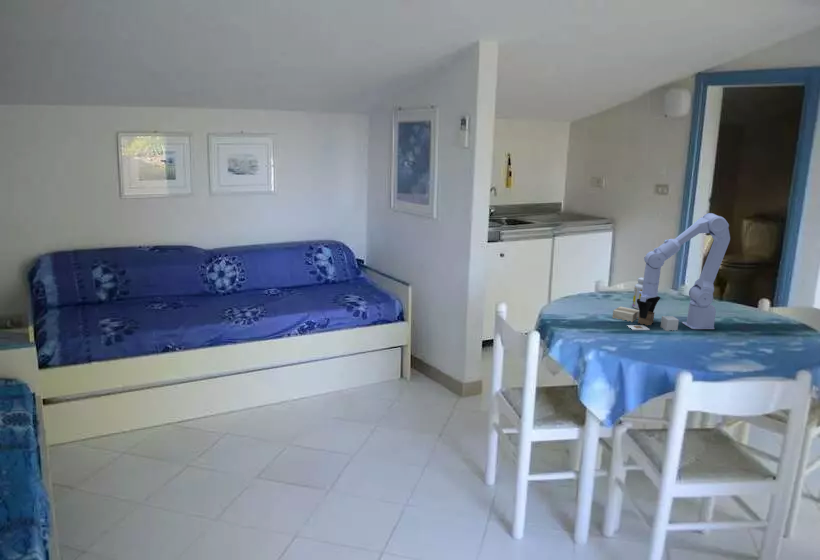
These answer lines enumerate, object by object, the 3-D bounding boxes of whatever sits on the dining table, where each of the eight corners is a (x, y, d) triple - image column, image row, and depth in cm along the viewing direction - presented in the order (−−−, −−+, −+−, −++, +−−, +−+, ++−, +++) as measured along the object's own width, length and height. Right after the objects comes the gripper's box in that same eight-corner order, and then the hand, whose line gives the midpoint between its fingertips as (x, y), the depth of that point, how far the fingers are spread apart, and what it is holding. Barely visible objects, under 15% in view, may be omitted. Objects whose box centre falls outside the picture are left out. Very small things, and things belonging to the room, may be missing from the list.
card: (643, 325, 256) (643, 325, 256) (649, 330, 251) (649, 329, 251) (626, 325, 255) (626, 324, 255) (632, 330, 250) (632, 329, 250)
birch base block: (619, 314, 271) (620, 306, 270) (638, 318, 267) (639, 310, 266) (612, 318, 265) (613, 310, 264) (632, 323, 260) (633, 314, 259)
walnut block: (641, 321, 263) (643, 310, 262) (653, 323, 260) (654, 312, 259) (637, 323, 259) (639, 312, 258) (649, 326, 256) (650, 315, 255)
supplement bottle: (651, 309, 280) (655, 279, 277) (641, 311, 276) (645, 281, 273) (638, 305, 285) (642, 276, 282) (628, 306, 282) (632, 277, 278)
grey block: (671, 327, 256) (672, 316, 255) (677, 331, 252) (678, 319, 251) (660, 327, 255) (661, 316, 254) (666, 331, 251) (667, 319, 250)
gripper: (646, 277, 263) (642, 310, 267) (634, 283, 252) (629, 317, 256) (664, 280, 259) (660, 313, 263) (652, 287, 248) (647, 321, 251)
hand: (646, 315), depth 259 cm, fingers open, 7 cm apart
